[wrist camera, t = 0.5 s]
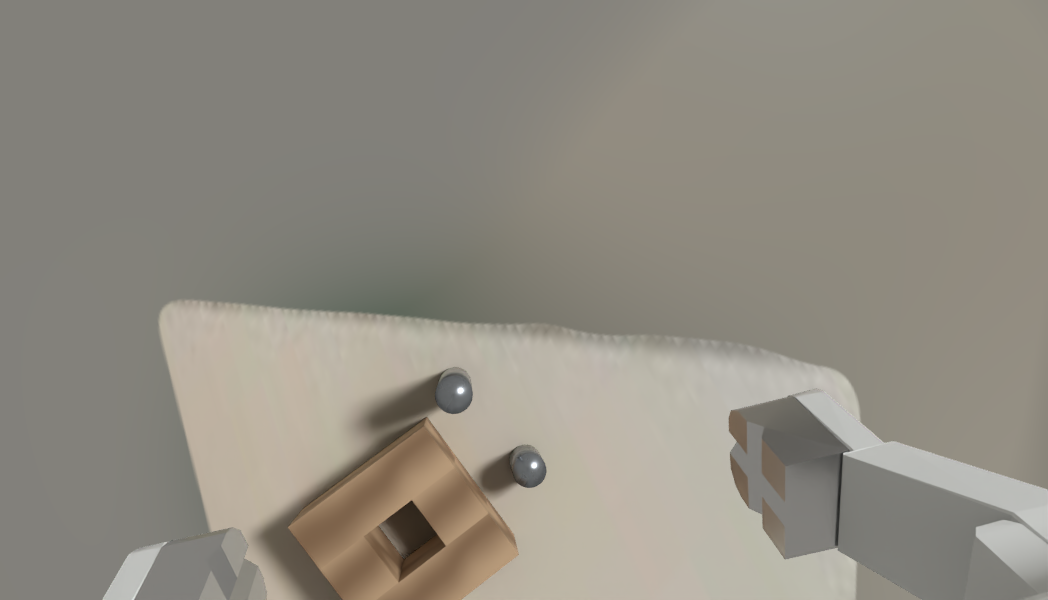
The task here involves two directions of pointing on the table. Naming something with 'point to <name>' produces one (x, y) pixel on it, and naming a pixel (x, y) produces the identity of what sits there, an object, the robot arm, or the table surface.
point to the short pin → (527, 466)
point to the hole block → (381, 490)
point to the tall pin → (454, 391)
